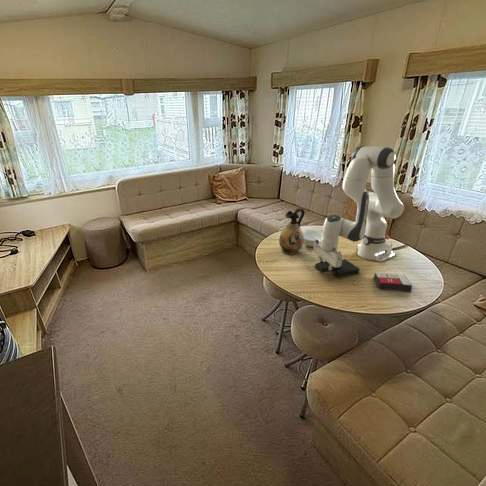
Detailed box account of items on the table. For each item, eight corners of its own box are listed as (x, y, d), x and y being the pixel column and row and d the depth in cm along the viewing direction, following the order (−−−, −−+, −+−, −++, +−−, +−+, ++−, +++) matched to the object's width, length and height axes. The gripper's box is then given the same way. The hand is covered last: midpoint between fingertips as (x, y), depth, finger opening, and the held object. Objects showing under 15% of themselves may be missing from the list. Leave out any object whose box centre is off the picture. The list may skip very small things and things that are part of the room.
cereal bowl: (303, 237, 215) (304, 228, 212) (327, 242, 206) (328, 233, 203) (294, 245, 203) (295, 236, 200) (319, 252, 194) (320, 242, 191)
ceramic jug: (285, 258, 188) (289, 213, 174) (274, 247, 201) (277, 205, 188) (309, 254, 192) (315, 210, 178) (296, 244, 205) (301, 202, 192)
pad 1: (333, 264, 174) (334, 259, 172) (340, 269, 169) (341, 264, 167) (314, 268, 170) (315, 263, 169) (321, 273, 165) (322, 268, 164)
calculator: (374, 271, 164) (405, 273, 161) (373, 278, 166) (403, 280, 163) (380, 282, 155) (412, 284, 151) (378, 289, 157) (410, 291, 153)
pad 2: (344, 263, 181) (344, 259, 179) (358, 273, 170) (359, 268, 169) (324, 267, 177) (325, 263, 175) (338, 277, 167) (339, 273, 165)
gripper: (347, 252, 154) (342, 274, 160) (322, 236, 171) (318, 257, 178) (337, 254, 152) (332, 276, 158) (312, 238, 170) (309, 259, 176)
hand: (325, 266), depth 168 cm, fingers closed on pad 1, 6 cm apart
